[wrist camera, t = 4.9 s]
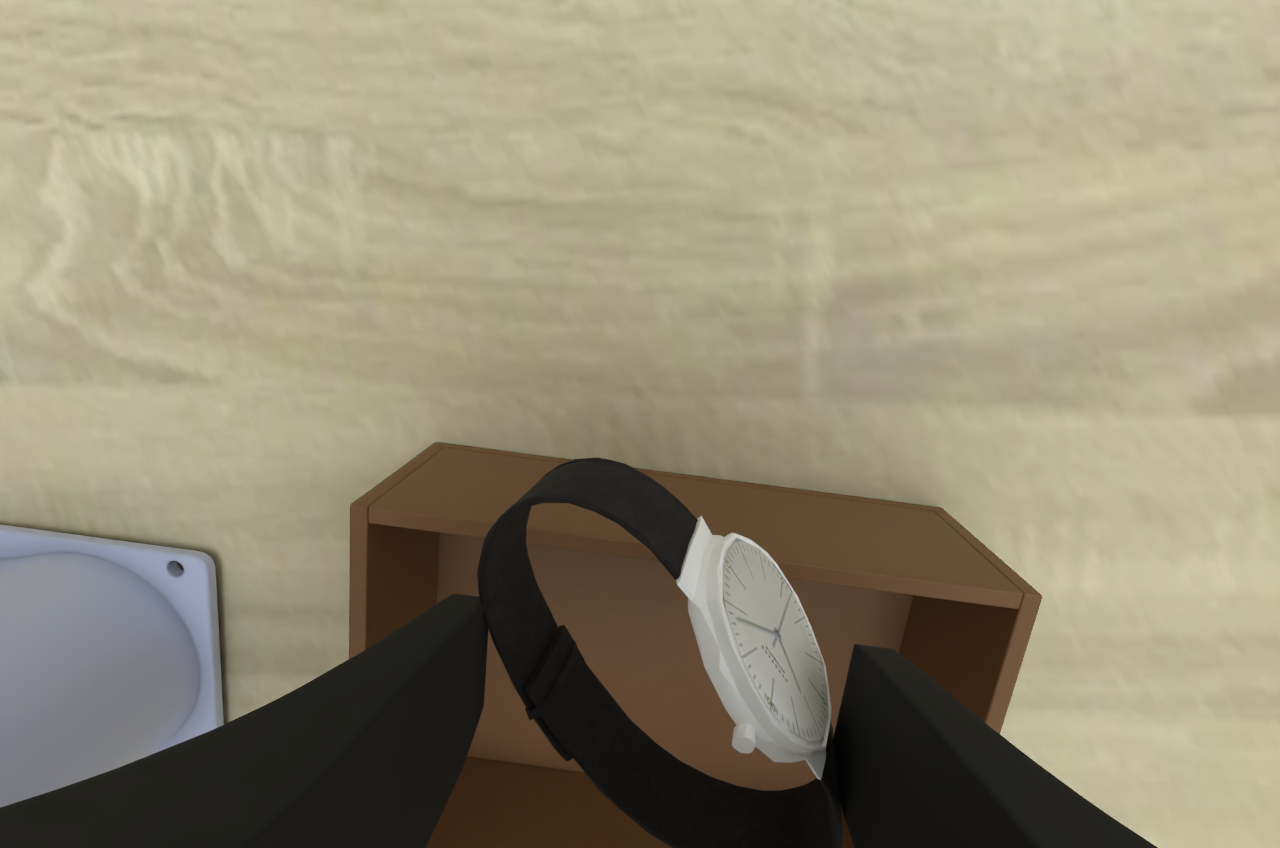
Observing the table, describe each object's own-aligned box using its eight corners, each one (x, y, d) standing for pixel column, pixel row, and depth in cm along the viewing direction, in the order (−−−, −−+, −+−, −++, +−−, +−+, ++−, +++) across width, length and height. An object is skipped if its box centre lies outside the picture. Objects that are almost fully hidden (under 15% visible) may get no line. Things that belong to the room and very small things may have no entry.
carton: (864, 811, 20) (924, 979, 16) (422, 750, 21) (347, 896, 16) (942, 507, 18) (1043, 595, 13) (435, 441, 18) (349, 504, 13)
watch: (886, 720, 12) (980, 914, 8) (677, 827, 12) (680, 1046, 9) (657, 384, 10) (650, 443, 7) (440, 528, 11) (334, 647, 8)
